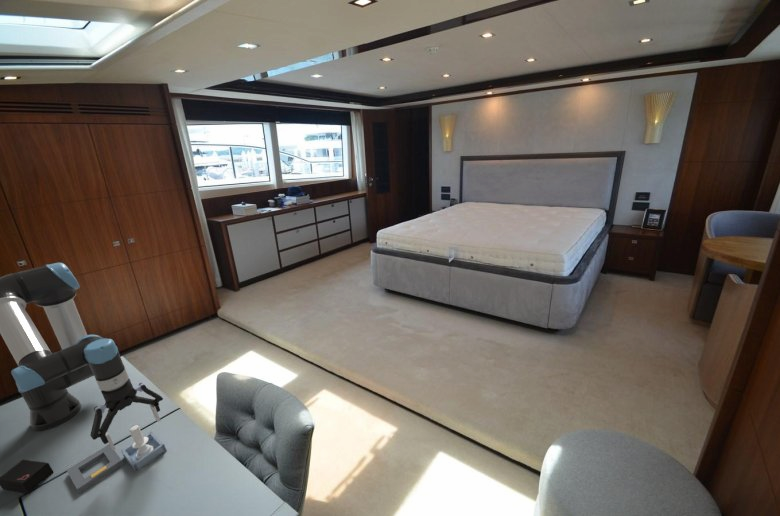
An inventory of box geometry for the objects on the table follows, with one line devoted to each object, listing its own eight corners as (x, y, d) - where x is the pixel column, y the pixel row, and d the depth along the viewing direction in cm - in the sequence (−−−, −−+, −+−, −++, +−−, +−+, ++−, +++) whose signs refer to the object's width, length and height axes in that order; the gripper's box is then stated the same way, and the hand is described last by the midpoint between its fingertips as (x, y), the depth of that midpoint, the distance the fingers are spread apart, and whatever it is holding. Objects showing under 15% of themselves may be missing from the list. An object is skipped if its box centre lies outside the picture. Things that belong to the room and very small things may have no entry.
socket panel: (68, 474, 114) (66, 469, 113) (111, 448, 123) (109, 443, 122) (79, 493, 107) (76, 488, 106) (123, 464, 116) (121, 459, 115)
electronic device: (29, 469, 117) (23, 459, 115) (54, 472, 115) (48, 462, 113) (3, 490, 110) (-4, 480, 108) (29, 494, 108) (22, 483, 106)
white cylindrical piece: (137, 462, 116) (126, 435, 111) (134, 453, 119) (122, 427, 115) (155, 451, 119) (144, 425, 115) (151, 443, 123) (140, 417, 119)
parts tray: (124, 456, 119) (121, 450, 118) (154, 437, 126) (151, 431, 125) (135, 472, 113) (132, 465, 112) (166, 450, 120) (164, 444, 119)
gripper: (68, 414, 97) (95, 466, 105) (162, 366, 116) (179, 413, 124) (61, 404, 101) (87, 455, 109) (152, 359, 120) (169, 405, 128)
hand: (136, 433), depth 116 cm, fingers open, 13 cm apart
